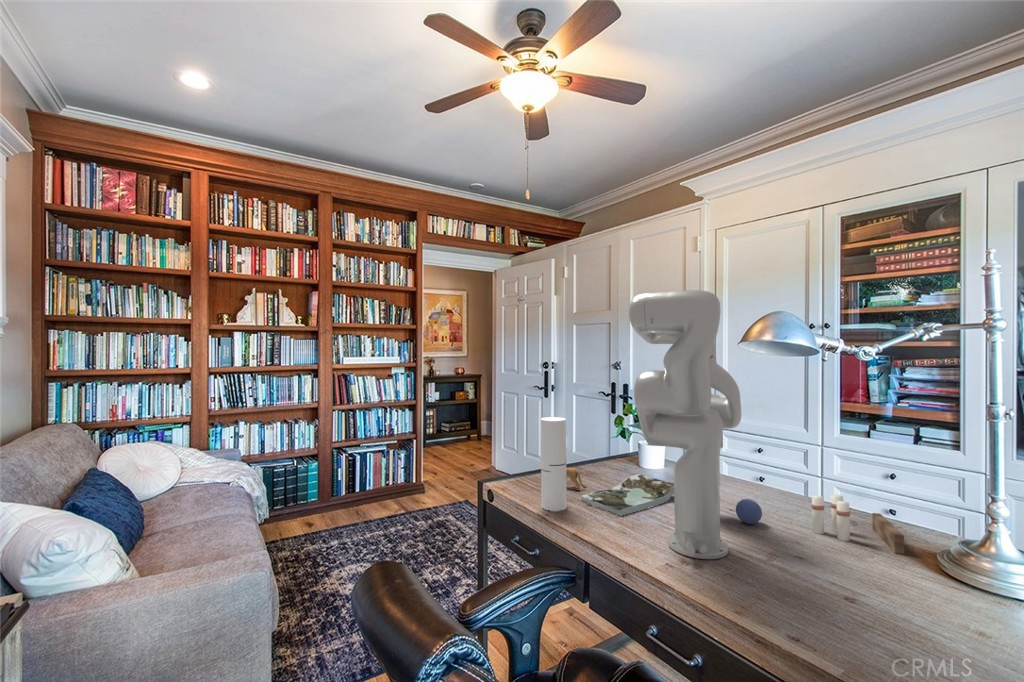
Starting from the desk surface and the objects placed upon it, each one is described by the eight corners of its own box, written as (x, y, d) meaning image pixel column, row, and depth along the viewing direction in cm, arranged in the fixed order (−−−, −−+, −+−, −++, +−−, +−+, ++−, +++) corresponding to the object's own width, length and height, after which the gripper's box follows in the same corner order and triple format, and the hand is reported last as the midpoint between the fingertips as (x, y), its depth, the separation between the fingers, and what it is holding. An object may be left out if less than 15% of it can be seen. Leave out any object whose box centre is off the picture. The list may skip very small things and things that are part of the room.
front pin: (826, 534, 108) (825, 499, 108) (813, 533, 109) (812, 497, 109) (823, 530, 110) (822, 495, 110) (810, 529, 111) (810, 494, 111)
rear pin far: (845, 533, 108) (845, 498, 108) (832, 532, 109) (832, 497, 109) (842, 529, 111) (841, 495, 111) (830, 528, 112) (829, 493, 112)
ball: (763, 529, 111) (763, 504, 111) (736, 525, 114) (736, 501, 114) (760, 520, 117) (760, 497, 117) (735, 517, 119) (734, 494, 119)
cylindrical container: (565, 512, 124) (564, 421, 125) (539, 510, 126) (539, 420, 126) (567, 503, 131) (566, 417, 132) (543, 501, 133) (542, 416, 133)
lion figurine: (540, 487, 146) (539, 460, 146) (544, 483, 151) (544, 456, 151) (585, 492, 141) (585, 463, 141) (588, 487, 146) (587, 459, 146)
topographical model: (621, 519, 120) (618, 500, 121) (582, 509, 133) (580, 492, 134) (680, 496, 135) (678, 479, 135) (641, 489, 147) (638, 473, 148)
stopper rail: (904, 554, 97) (903, 535, 97) (895, 553, 98) (894, 534, 98) (880, 530, 110) (880, 513, 110) (872, 529, 111) (872, 512, 111)
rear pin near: (852, 542, 104) (851, 505, 104) (838, 540, 105) (837, 503, 105) (848, 537, 106) (847, 501, 106) (835, 536, 107) (834, 500, 107)
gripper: (724, 448, 111) (725, 522, 111) (721, 435, 125) (723, 501, 125) (691, 445, 114) (692, 517, 114) (692, 433, 128) (694, 498, 128)
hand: (708, 509), depth 120 cm, fingers closed
